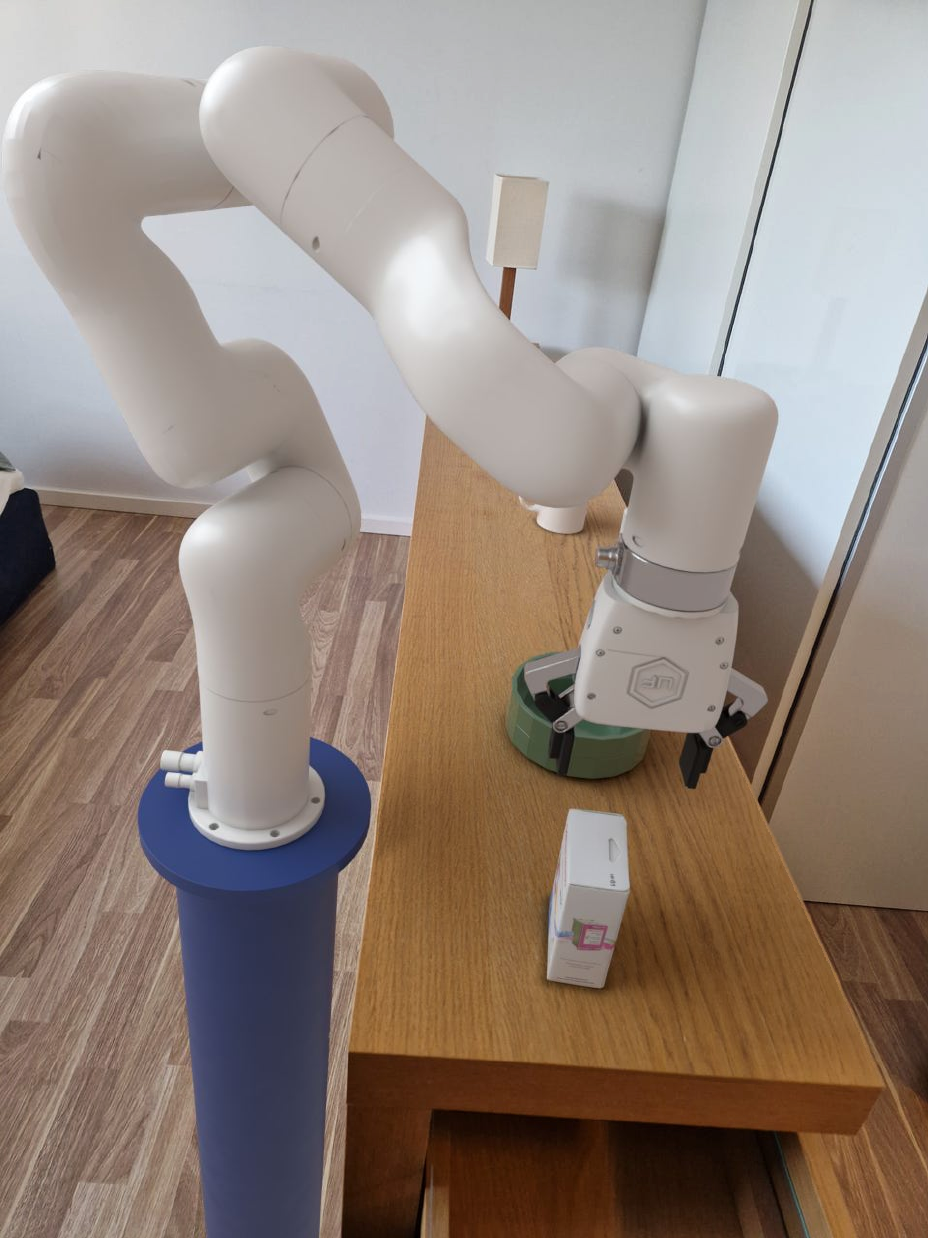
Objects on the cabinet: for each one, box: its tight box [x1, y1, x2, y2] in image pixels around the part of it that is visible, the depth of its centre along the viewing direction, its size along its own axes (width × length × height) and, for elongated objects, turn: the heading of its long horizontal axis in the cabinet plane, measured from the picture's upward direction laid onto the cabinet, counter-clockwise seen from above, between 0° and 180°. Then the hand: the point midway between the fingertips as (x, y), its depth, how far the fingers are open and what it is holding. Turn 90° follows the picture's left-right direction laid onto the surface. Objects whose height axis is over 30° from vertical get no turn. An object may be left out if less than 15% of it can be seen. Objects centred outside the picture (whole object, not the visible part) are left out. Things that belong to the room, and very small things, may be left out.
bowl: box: [505, 650, 652, 780], centre depth 98 cm, size 16×16×6 cm
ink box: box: [546, 808, 631, 989], centre depth 72 cm, size 9×5×12 cm, turn 174°
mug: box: [518, 496, 589, 535], centre depth 146 cm, size 12×8×10 cm
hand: (623, 770), depth 66 cm, fingers open, 9 cm apart
